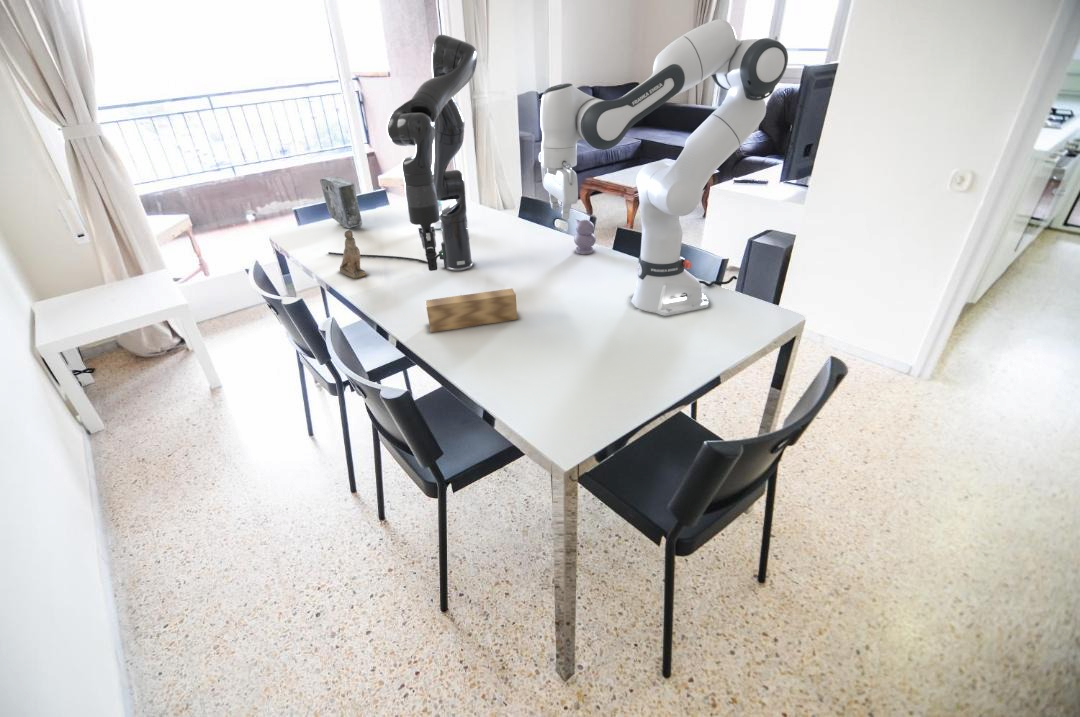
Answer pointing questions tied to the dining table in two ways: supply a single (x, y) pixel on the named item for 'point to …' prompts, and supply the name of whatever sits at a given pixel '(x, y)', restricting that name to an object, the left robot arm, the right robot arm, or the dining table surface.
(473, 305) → the bar
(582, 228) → the cat figurine
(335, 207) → the concrete block
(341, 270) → the brown carved statuette
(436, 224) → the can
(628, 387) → the dining table surface
